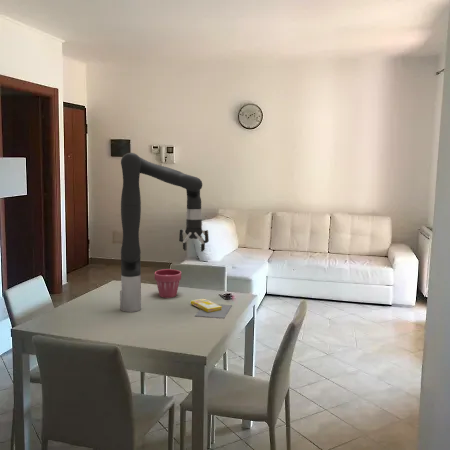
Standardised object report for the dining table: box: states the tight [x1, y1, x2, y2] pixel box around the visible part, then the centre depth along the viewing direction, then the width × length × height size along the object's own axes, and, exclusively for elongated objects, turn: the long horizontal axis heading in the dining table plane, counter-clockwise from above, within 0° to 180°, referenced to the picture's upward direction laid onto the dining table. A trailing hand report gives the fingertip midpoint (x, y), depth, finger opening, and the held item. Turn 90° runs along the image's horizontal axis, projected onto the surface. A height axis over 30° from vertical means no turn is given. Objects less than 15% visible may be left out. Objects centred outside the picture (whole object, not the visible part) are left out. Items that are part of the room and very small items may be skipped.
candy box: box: [190, 298, 222, 312], centre depth 249 cm, size 16×2×8 cm
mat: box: [194, 303, 233, 319], centre depth 245 cm, size 14×20×1 cm
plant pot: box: [154, 268, 182, 299], centre depth 269 cm, size 14×14×13 cm
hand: (193, 250), depth 247 cm, fingers open, 8 cm apart
